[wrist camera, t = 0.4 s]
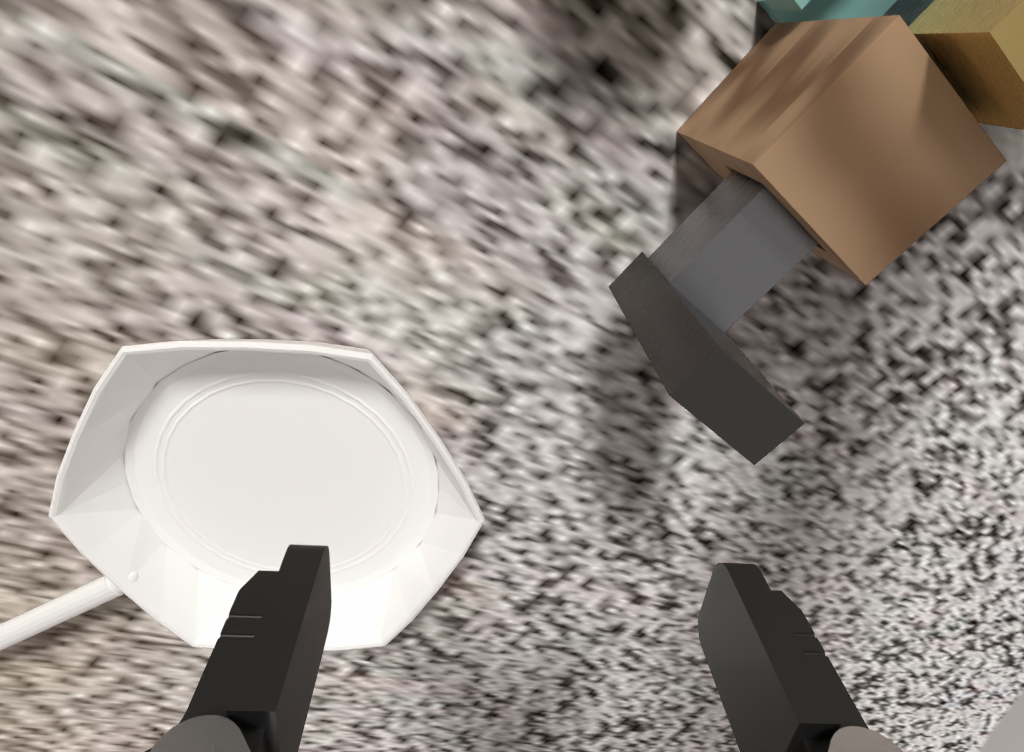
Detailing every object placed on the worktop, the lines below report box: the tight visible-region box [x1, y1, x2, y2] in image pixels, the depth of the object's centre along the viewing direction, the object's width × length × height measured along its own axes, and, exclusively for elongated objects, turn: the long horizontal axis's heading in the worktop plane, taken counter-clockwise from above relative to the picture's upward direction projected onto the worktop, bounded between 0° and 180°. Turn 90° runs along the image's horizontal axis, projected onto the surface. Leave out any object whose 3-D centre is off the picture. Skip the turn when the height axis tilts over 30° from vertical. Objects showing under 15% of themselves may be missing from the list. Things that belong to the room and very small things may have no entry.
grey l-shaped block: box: [609, 0, 934, 465], centre depth 27 cm, size 21×5×12 cm, turn 139°
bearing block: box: [677, 15, 1006, 285], centre depth 31 cm, size 7×8×11 cm
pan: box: [0, 339, 485, 651], centre depth 45 cm, size 28×41×4 cm
